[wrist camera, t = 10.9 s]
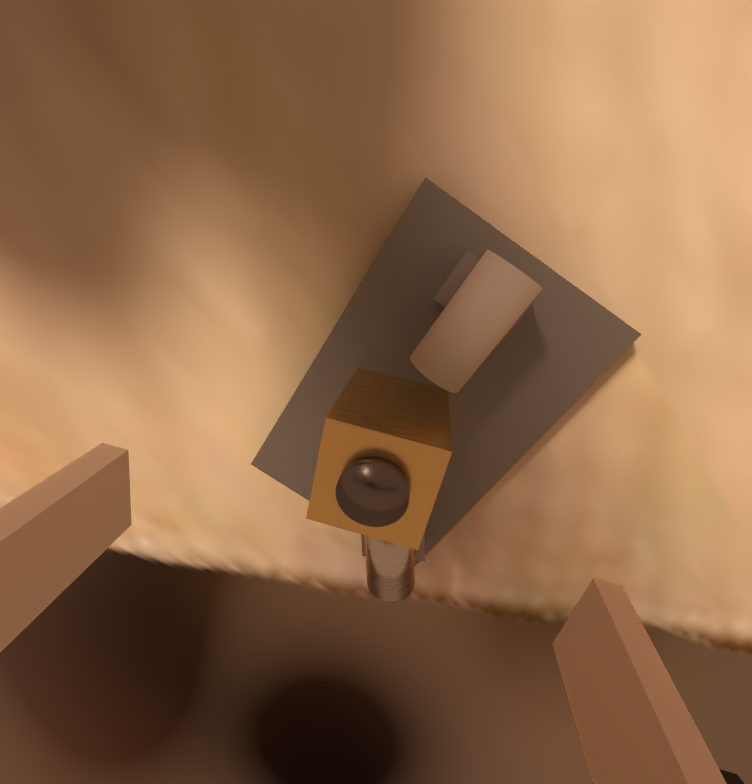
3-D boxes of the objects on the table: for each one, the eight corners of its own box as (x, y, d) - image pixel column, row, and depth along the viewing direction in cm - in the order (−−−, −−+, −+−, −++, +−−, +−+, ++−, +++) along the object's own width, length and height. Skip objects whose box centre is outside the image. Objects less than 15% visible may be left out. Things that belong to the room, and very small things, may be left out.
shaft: (363, 471, 23) (348, 517, 19) (425, 474, 22) (423, 522, 18) (367, 543, 24) (354, 598, 21) (425, 547, 24) (422, 605, 20)
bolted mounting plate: (426, 181, 18) (421, 159, 13) (629, 329, 19) (696, 359, 14) (259, 454, 25) (215, 506, 20) (415, 552, 26) (410, 625, 21)
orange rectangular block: (358, 366, 20) (320, 424, 14) (447, 390, 20) (453, 460, 14) (341, 444, 22) (301, 528, 16) (423, 467, 22) (417, 561, 16)
